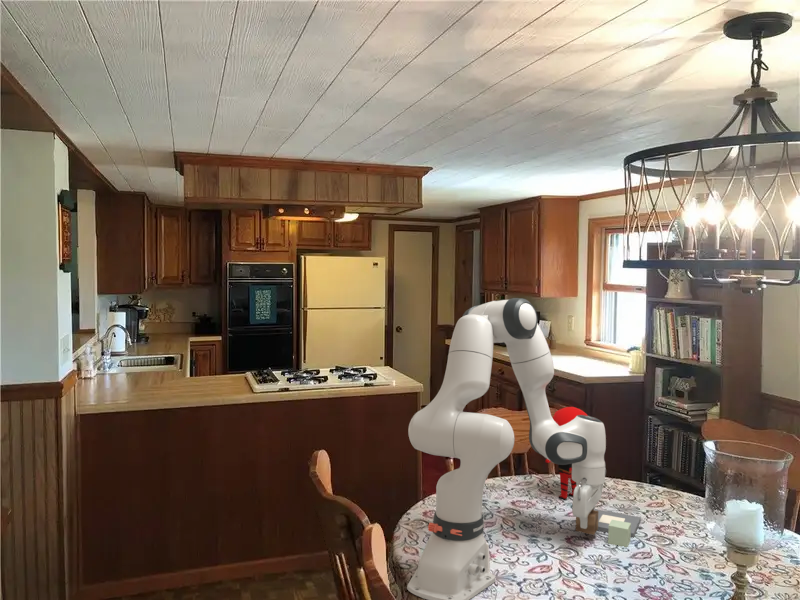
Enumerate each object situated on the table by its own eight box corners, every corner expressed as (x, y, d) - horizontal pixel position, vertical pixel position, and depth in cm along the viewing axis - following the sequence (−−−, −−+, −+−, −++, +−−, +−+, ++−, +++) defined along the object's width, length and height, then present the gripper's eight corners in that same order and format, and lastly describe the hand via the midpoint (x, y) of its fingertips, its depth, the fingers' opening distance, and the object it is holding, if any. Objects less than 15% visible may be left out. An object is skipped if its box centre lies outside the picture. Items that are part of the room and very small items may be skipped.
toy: (575, 487, 216) (577, 400, 215) (608, 498, 204) (610, 407, 203) (531, 498, 204) (532, 406, 203) (562, 511, 192) (565, 414, 192)
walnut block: (594, 534, 170) (594, 516, 170) (575, 531, 172) (576, 512, 172) (597, 528, 174) (598, 511, 174) (579, 525, 177) (580, 507, 177)
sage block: (627, 547, 167) (627, 529, 166) (608, 543, 169) (608, 525, 169) (630, 541, 171) (630, 523, 171) (611, 537, 173) (611, 519, 173)
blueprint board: (633, 537, 173) (633, 533, 173) (582, 527, 180) (582, 523, 180) (640, 521, 185) (640, 516, 185) (592, 512, 192) (592, 508, 192)
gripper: (591, 486, 162) (589, 538, 163) (607, 467, 180) (605, 515, 180) (567, 481, 166) (565, 533, 166) (585, 464, 183) (583, 511, 184)
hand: (586, 523), depth 173 cm, fingers closed on walnut block, 5 cm apart
